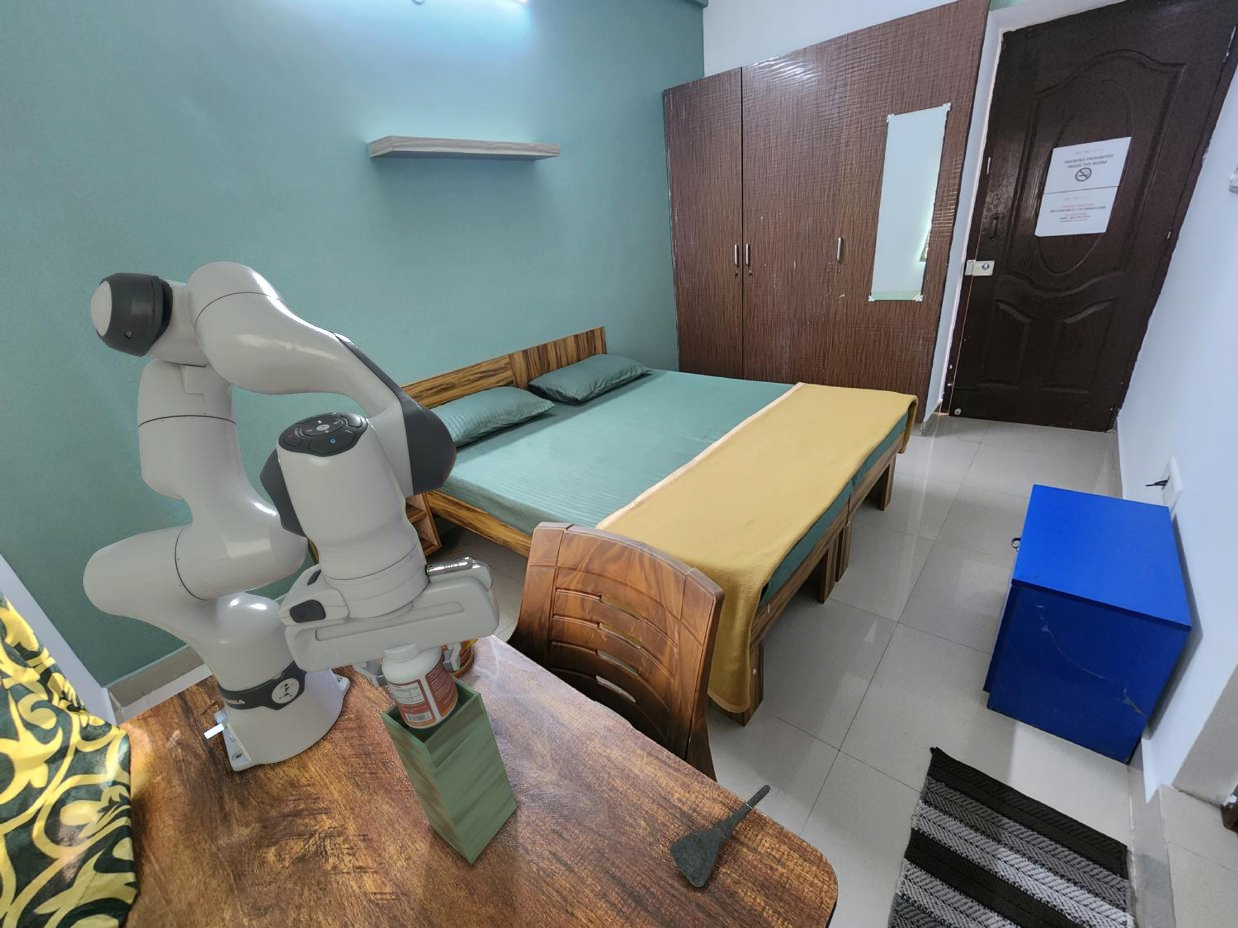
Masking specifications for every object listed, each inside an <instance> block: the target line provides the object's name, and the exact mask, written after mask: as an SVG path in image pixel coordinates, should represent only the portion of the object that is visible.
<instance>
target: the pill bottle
mask: <svg viewBox="0 0 1238 928" xmlns="http://www.w3.org/2000/svg"><path fill="white" fill-rule="evenodd" d="M384 652H385V655H386V658H382V662H381V664H382V672H383V674H384V677H385V679H386V681H387V683H388V685H387V687H388V688H389V690H390V692H391V694H392V696H393V700H394V701H395V703H396V704H397V706H398V708H399V710H400V713H401V715H402V717H403V719H404V721H405V722H406V723H407V724H408V725H409V726H411V727H413V728H420V729H421V728H428V727H432V726H434V725H436V724H438V723H439V722H441V721H442V720H444V719H445V718H446V717H447V716H448V715H449V714H450V713H451V711H452V710H453V709H454V707H455V705H456V702H457V698H458V693H457V689H456V686H455V683H454V680H453V678H452V675H451V672H445V668H444V667H443V665H442V660H443V657H444V656H443V654H444V653H443V650H442V648H441V646H439V647H434V648H429V649H424V650H420V649H419V648H417V645H416V644H411V645H406V646H401V647H397V648H392V649H388V650H384Z"/></svg>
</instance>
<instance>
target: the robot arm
mask: <svg viewBox="0 0 1238 928" xmlns="http://www.w3.org/2000/svg"><path fill="white" fill-rule="evenodd" d="M89 308H90V309H89V310H90V311H89V312H90V317H91V320H92V321H91V322H92V323H93V326H94V328H95V332H96V335H97V336H98V338H99V339H100V341H102V342H103V343H104V345H106V347H108V348H110V349H112V350H114V351H117V352H120V353H123V354H127V355H130V356H135V357H138V358H142V357H148V358H152V360H150V361H149V362H148V363H147V364H145V366H144V367H143V369H142V372H141V376H140V379H139V380H140V381H139V387H138V392H137V393H138V394H137V405H136V421H137V423H136V424H137V437H138V438H137V439H138V449H139V460H140V471H141V477H142V480H143V482H144V483H145V484H146V485H147V486H148V487H149V488H150V489H151V490H152V491H154V492H155V493H157V494H159V495H162V496H164V497H167V498H169V499H175V500H177V501H178V500H179V501H182V502H185V504H187V506H188V509H189V510H190V513H191V518H192V519H191V522H189V523H184V524H180V525H174V526H170V527H165V528H161V529H155V530H150V531H146V532H145V531H144V532H141V533H137V534H134V535H132V536H129V537H127V538H124V539H121V540H118V541H116V542H114V543H112V544H109V545H106V546H104V547H102V548H100V549H98V550H96V552H94V554H92V556H91V557H90V559H89V560H88V562H87V563H86V566H85V568H84V572H83V577H82V584H83V589H84V590H83V591H84V593H85V595H86V597H87V598H88V600H89V602H91V603H92V604H93V606H94V607H96V608H97V609H98V610H100V611H101V612H103V613H106V614H108V615H114V616H120V617H126V618H130V619H135V620H138V621H141V622H145V623H148V624H150V625H152V626H154V627H157V628H159V629H161V630H163V631H165V632H167V633H169V634H171V635H173V636H174V637H176V638H177V639H179V640H181V641H182V642H184V643H185V644H186V645H187V646H189V647H190V648H191V649H192V650H193V651H194V652H195V653H196V654H197V656H198V657H199V658H201V660H202V662H203V663H204V664H205V666H206V667H207V668H208V670H209V671H210V672H211V674H212V675H213V677H214V679H215V680H216V688H217V691H218V694H219V696H220V698H221V699H222V702H223V708H221V709H219V710H218V711H216V712H215V713H214V714H213V717H214V719H215V721H216V722H217V725H216V726H214V727H212V728H211V729H209V730H208V731H206V732H204V736H205V737H206V739H209V738H211V737H213V736H214V735H216V734H218V733H219V732H222V736H223V738H224V744H225V747H226V751H227V755H228V760H229V763H230V766H231V769H232V770H233V771H234V772H240V771H243V770H247V769H249V768H252V767H254V766H258V765H268V764H275V763H279V762H283V761H286V760H289V759H291V758H294V757H295V756H297V755H299V754H301V753H303V752H304V751H306V750H307V749H309V748H310V747H312V746H313V745H315V744H316V743H317V742H318V741H320V740H321V739H322V738H323V737H324V736H325V735H326V734H327V733H328V732H329V731H330V730H331V728H332V727H333V726H334V724H335V723H336V721H337V720H338V718H339V716H340V715H341V712H342V709H343V703H344V699H345V696H346V694H347V692H348V691H349V689H350V687H351V684H352V682H351V681H350V680H349V678H347V677H345V676H343V675H339V674H336V673H334V672H333V671H332V670H334V669H338V668H342V667H343V668H344V667H347V666H348V667H349V666H352V668H353V670H354V671H355V672H357V673H359V674H361V675H363V676H364V677H366V678H368V679H370V680H371V682H372V684H373V687H374V688H375V689H377V688H381V687H386V686H388V683H387V681H386V679H385V677H384V674H383V672H382V663H380V662H379V661H378V660H380V659H382V660H383V658H386V655H385V652H384V650H388V649H392V648H397V647H401V646H406V645H411V644H416V645H417V648H419V649H420V650H424V649H429V648H434V647H439V646H443V645H447V647H448V649H449V650H446V651H444V654H443V656H444V657H443V660H442V665H443V667H444V668H445V672H451V671H456V670H459V669H460V656H459V652H460V650H461V647H462V641H467V640H472V639H482V638H485V637H490V636H493V635H494V634H495V633H496V632H497V629H498V628H499V626H500V615H501V614H500V605H499V602H498V600H497V597H496V595H495V592H494V589H493V588H492V586H493V582H494V581H493V580H494V579H493V576H492V573H491V569H490V567H489V565H488V564H487V563H485V562H483V561H481V560H477V559H475V560H474V559H473V558H472V557H462V558H458V559H456V560H451V561H450V560H449V561H441V562H436V563H430V564H428V561H427V559H426V556H425V553H424V549H423V547H422V543H421V541H420V538H419V534H418V532H417V530H416V528H415V526H414V525H413V524H412V523H411V521H410V520H409V519H408V515H407V512H406V499H407V498H409V497H412V496H414V497H416V496H419V495H422V494H425V493H428V492H432V491H435V490H438V489H441V488H442V487H443V486H444V484H445V483H446V482H447V480H448V479H449V477H450V475H451V473H452V471H453V470H454V467H455V465H456V461H457V457H458V454H457V448H456V444H455V441H454V439H453V436H452V434H451V432H450V430H449V429H448V428H447V425H446V424H445V423H444V421H443V420H442V419H441V418H440V417H439V416H438V415H437V414H436V413H435V412H433V411H432V410H430V409H429V408H428V407H426V406H425V405H423V404H421V403H419V402H418V401H416V399H414V398H413V397H411V396H410V395H409V394H408V393H407V392H406V391H405V390H404V389H403V388H402V387H400V385H399V384H397V382H396V381H394V380H393V379H392V378H391V377H390V376H389V375H388V374H387V373H386V372H385V371H384V370H382V368H381V367H379V366H378V365H377V364H376V363H375V361H373V360H372V359H371V358H370V357H369V356H368V355H367V354H366V353H365V352H363V350H362V349H361V348H359V346H357V345H356V344H355V343H353V342H352V341H351V340H349V338H347V337H345V335H342V334H340V333H336V332H333V331H329V330H325V329H323V328H320V327H318V326H316V325H313V324H311V323H309V322H308V321H306V320H305V319H303V318H301V317H299V316H298V315H297V314H296V312H295V311H294V310H293V308H292V307H291V305H290V304H289V303H288V301H287V300H286V299H285V297H284V296H283V295H282V294H281V292H279V290H278V289H277V288H276V287H275V286H274V285H273V284H271V283H270V282H269V281H268V279H266V278H265V277H264V276H263V275H262V274H261V273H259V272H258V271H256V270H255V269H253V268H251V267H250V266H247V265H245V264H242V263H239V262H234V261H227V260H222V261H213V262H209V263H206V264H203V265H202V266H200V267H198V268H197V269H195V271H193V273H192V274H191V275H190V277H189V278H188V280H187V282H182V281H178V280H172V279H166V278H161V277H160V276H159V275H153V274H149V273H148V274H147V273H140V272H138V273H137V272H115V273H113V274H111V275H108V276H105V277H104V278H102V279H101V281H100V283H99V285H98V286H97V288H96V289H95V291H94V293H93V294H92V297H91V300H90V307H89ZM153 358H154V359H153ZM234 386H235V387H237V388H239V389H242V390H244V391H248V392H251V393H254V394H255V393H256V394H261V395H268V396H269V395H270V396H283V395H292V394H293V395H295V394H312V393H313V394H316V393H317V394H319V393H320V394H321V393H322V394H324V393H325V394H337V395H341V396H345V397H348V398H350V399H351V400H352V401H354V402H355V403H356V404H357V405H358V406H359V407H360V408H361V409H362V410H363V411H364V412H365V413H366V414H367V415H368V416H369V417H368V418H366V417H365V416H363V415H361V414H358V413H353V412H349V411H347V412H346V411H335V412H334V411H333V412H324V413H320V414H315V415H312V416H308V417H306V418H302V419H300V420H299V421H296V422H294V423H292V424H290V426H288V427H286V428H285V429H284V430H283V431H282V432H281V433H280V434H279V436H278V437H277V439H276V442H275V448H274V449H273V450H272V452H271V453H270V455H269V456H268V458H267V460H266V461H265V463H264V465H263V467H262V469H261V471H260V474H259V481H260V483H261V485H262V487H263V488H264V490H265V492H266V493H267V495H268V496H269V497H270V499H271V501H272V503H273V504H271V503H270V502H268V501H267V500H265V499H264V498H263V497H262V496H261V495H260V494H259V493H258V491H257V490H256V489H255V488H254V486H253V484H252V483H251V481H250V479H249V477H248V475H247V472H246V470H245V464H244V460H243V456H242V455H243V454H242V451H241V443H240V437H239V430H238V422H237V415H236V410H235V406H234V400H233V387H234ZM308 539H309V540H310V541H311V542H312V543H313V544H314V546H315V548H316V550H317V554H318V563H316V564H314V565H313V566H311V567H309V568H307V569H305V570H304V571H303V572H302V573H301V574H300V575H299V576H298V578H297V579H296V580H295V582H293V585H292V586H291V588H289V590H288V592H287V593H286V595H285V597H284V598H283V600H282V602H281V604H279V602H277V601H275V600H274V599H272V598H269V597H266V596H262V595H256V594H251V593H248V591H253V590H257V589H262V588H265V587H267V586H270V585H271V584H272V585H273V584H274V583H276V582H280V581H281V580H283V579H286V578H288V577H290V576H293V575H295V574H296V573H297V572H299V570H300V569H301V567H302V566H303V564H304V563H305V560H306V558H307V555H308V550H309V541H308Z"/></svg>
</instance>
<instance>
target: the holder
mask: <svg viewBox="0 0 1238 928" xmlns="http://www.w3.org/2000/svg"><path fill="white" fill-rule="evenodd" d="M452 678H453V680H454V683H455V686H456V689H457V693H458V698H457V702H456V705H455V707H454V709H453V710H452V711H451V713H450V714H449V715H448V716H447V717H446V718H445V719H444V720H442V721H441V722H439V723H438V724H436V725H434V726H432V727H428V728H421V729H420V728H413V727H411V726H409V725H408V724H407V723H406V722H405V721H404V719H403V717H402V715H401V713H400V710H399V708H398V706H397V704H396V702H395V703H393V704H392V705H391V706H390V707H389V708H388V709H386V710H385V711H384V712H383V713H382V714H380V717H381V720H382V722H383V724H384V727H385V728H386V731H387V733H388V735H389V737H390V739H391V742H392V744H393V746H394V748H395V750H396V752H397V754H398V757H399V759H400V761H401V763H402V765H403V767H404V769H405V771H406V774H407V776H408V778H409V780H410V782H411V785H412V787H413V790H414V791H415V793H416V796H417V798H418V800H419V803H420V804H421V807H422V809H423V811H424V813H425V816H426V818H427V819H428V822H429V824H430V826H431V828H432V829H433V831H435V832H436V833H437V834H438V835H439V836H440V837H441V838H442V839H443V840H444V841H446V842H447V843H448V844H449V845H450V846H451V847H452V848H453V849H454V850H455V851H456V852H458V854H460V855H461V856H462V858H464V859H465V860H466V861H467V862H468V863H470V865H473V864H474V862H475V861H476V860H477V858H478V857H479V856H480V855H481V853H482V852H483V851H484V850H485V848H486V847H487V846H488V844H489V843H490V842H491V841H492V839H493V838H495V836H496V835H497V833H498V832H499V831H500V829H501V828H502V827H503V826H504V825H505V824H506V822H507V820H508V819H509V818H510V817H511V815H512V814H513V813H514V811H515V810H516V809H517V808H518V803H517V801H516V799H515V795H514V793H513V790H512V789H513V788H512V786H511V783H510V780H509V776H508V774H507V770H506V768H505V765H504V761H503V759H502V755H501V753H500V750H499V747H498V744H497V740H496V737H495V734H494V731H493V728H492V725H491V721H490V719H489V716H488V712H487V709H486V706H485V703H484V700H483V697H482V694H481V692H479V691H478V690H476V689H475V688H473V687H472V686H470V685H468V684H466V683H465V682H463V681H462V680H460V679H458V677H457V678H455V677H454V676H452Z"/></svg>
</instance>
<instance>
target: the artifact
mask: <svg viewBox="0 0 1238 928" xmlns="http://www.w3.org/2000/svg"><path fill="white" fill-rule="evenodd" d="M770 791H771V786H770V785H769V784H765V785H763V786H762V787H760V789H759V790H757V791H756V792H755V794H753V796H752V797H750V798H749V799H748V800H747V801H746V802H745V803H747V804H748V805H749V806H751V807H752V808H753V809H754V808H755V807H756V806H757V805H758V804H759V803H760V802H761V801H762V800H763V799H764V798H765V797H767V795H768V794H769V793H770ZM745 803H744V804H743V805H742V806H741V807H740V808H739V809H737V810H736V811H735V812H734V813H733V814H731V815H730V816H728V817H727V818H725V819H724V820H717V821H716V822H715V825H714V827H711V828H708V829H706V830H699V831H694V832H692V833H690V834H687V835H685V836H683V837H681V838H680V839H678V840H676V841H675V842H673V843H672V844H671V846H670V848H669V853H670V856H671V857H672V859H673V862H674V863H675V865H676V867H677V868H678V869H679V871H680V872H681V873H682V874H683V875H684V876H685V877H686V879H687V880H688V881H689V882H690V884H691V885H693V886H694V887H696V888H699V887H703V886H704V885H705V883H706V881H707V880H708V879H709V877H710V876H711V874H712V872H713V870H714V867H715V865H716V862H717V861H718V858H719V854H720V852H721V849H722V847H723V845H724V844H725V842H727V841H730V840H731V839H732V837H733V831H735V829H736V827H738V826H739V825H740V823H742V822H743V820H744V819H745V818H746V817H747V815H749V813H751V811H752V810H753V809H751V808H750V807H749V806H747V805H746V804H745Z"/></svg>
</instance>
